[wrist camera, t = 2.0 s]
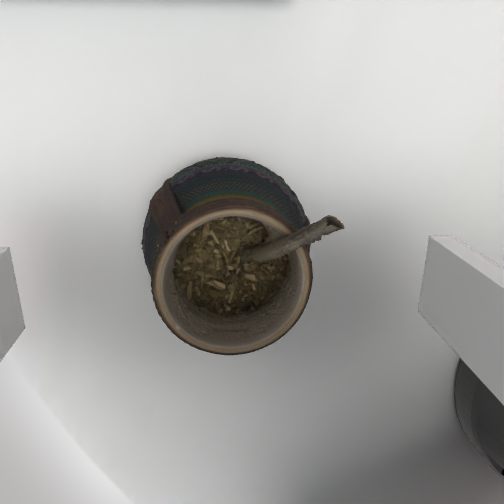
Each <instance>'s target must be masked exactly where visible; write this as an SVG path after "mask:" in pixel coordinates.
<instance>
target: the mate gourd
mask: <svg viewBox="0 0 504 504" xmlns="http://www.w3.org/2000/svg"><path fill="white" fill-rule="evenodd" d="M340 229H344V225H343V223H341V222H340V221H339V220H338V219H337V218H336V217H333V216H330V215H328V216H326V217H324V218H322V220H320V221H318V222H316V223H313V224H310V222H309V220H308V218H307V216H306V215H305V213H304V210H303V207H302V205H301V204H300V202H299V200H298V198H297V196H296V194H295V193H294V192H293V191H292V190H291V189H290V187H289V186H288V185H287V184H286V183H285V182H284V179H283V178H282V177H281V176H278V175H276V174H275V173H274V172H272V171H270V169H267V168H266V167H264V166H262V165H260V164H256V163H255V162H253V161H248V160H245V159H237V158H225V157H220V158H217V157H216V158H214V159H208V160H204V161H201V162H198V163H195V164H193V165H191V166H188V167H186V168H184V169H183V170H181V171H180V172H178V173H176V174H175V175H174V176H173V177H172V178H169V179H167V180H166V181H165V183H164V184H163V186H162V187H161V188H160V189H159V190H158V191H157V192H156V193H155V194H154V196H153V198H152V199H151V200H150V206H149V209H148V213H147V216H146V219H145V223H144V228H143V239H142V243H141V244H142V245H143V247H142V249H143V253H144V258H145V263H146V265H147V268H148V271H149V274H150V276H151V287H152V290H151V291H152V294H153V300H154V302H155V306H156V309H157V311H158V314H159V315H160V316H161V318H162V320H163V322H164V323H165V324H166V325H167V327H168V328H169V329H170V330H171V332H172V333H173V334H175V335H176V336H177V337H178V338H179V339H181V340H182V341H184V342H185V343H187V344H189V345H190V346H192V347H195V348H197V349H199V350H203V351H206V352H209V353H214V354H221V355H239V354H245V353H250V352H254V351H256V350H259V349H262V348H264V347H267V346H269V345H271V344H272V343H274V342H275V341H277V340H279V339H280V338H281V337H282V336H284V335H285V334H286V333H287V332H288V331H289V330H290V329H291V328H292V327H293V326H294V325H295V324H296V322H297V321H298V319H299V318H300V316H301V315H302V314H303V311H304V309H305V307H306V304H307V302H308V299H309V296H310V292H311V287H312V279H313V273H312V261H311V259H310V256H309V251H310V244H311V243H314V242H315V240H316V241H319V240H321V237H322V235H328V234H331V233H332V232H335V231H338V230H340Z"/></svg>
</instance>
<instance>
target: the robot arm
mask: <svg viewBox="0 0 504 504" xmlns="http://www.w3.org/2000/svg"><path fill="white" fill-rule="evenodd" d="M418 312H419V313H420V314H421V315H422V316H423V317H424V318H425V320H426V321H427V322H428V323H429V324H430V325H431V326H432V327H433V328H434V329H435V330H436V332H437V333H438V334H439V335H440V336H441V337H442V338H443V339H444V340H445V341H446V343H447V344H448V345H449V346H450V347H451V348H452V349H453V350H454V351H455V352H456V354H457V355H458V356H459V357H460V358H461V359H462V360H461V363H460V366H459V369H458V373H457V378H456V385H455V404H456V410H457V414H458V418H459V421H460V423H461V426H462V428H463V430H464V431H465V433H466V435H467V436H468V437H469V439H470V440H471V442H472V443H473V444H474V446H475V447H476V448H477V450H478V451H479V452H480V454H481V455H482V456H483V458H484V459H485V460H486V462H487V463H488V464H489V465H490V466H491V467H492V468H493V469H494V470H495V471H496V472H497V473H498V474H499V475H500V476H501V477H503V478H504V268H502V267H501V266H499V265H497V264H496V263H494V262H493V261H491V260H490V259H488V258H486V257H485V256H483V255H482V254H480V253H479V252H477V251H475V250H474V249H472V248H471V247H469V246H468V245H466V244H464V243H463V242H461V241H460V240H458V239H457V238H455V237H453V236H429V242H428V248H427V255H426V262H425V269H424V275H423V282H422V289H421V295H420V302H419V309H418ZM24 329H25V324H24V319H23V314H22V309H21V304H20V299H19V294H18V289H17V284H16V279H15V274H14V269H13V264H12V259H11V253H10V248H9V247H8V248H0V361H1V360H2V359H3V357H4V356H5V355H6V353H7V352H8V351H9V349H10V348H11V346H12V345H13V344H14V342H15V341H16V340H17V338H18V337H19V336H20V334H21V333H22V332H23V330H24Z"/></svg>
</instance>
